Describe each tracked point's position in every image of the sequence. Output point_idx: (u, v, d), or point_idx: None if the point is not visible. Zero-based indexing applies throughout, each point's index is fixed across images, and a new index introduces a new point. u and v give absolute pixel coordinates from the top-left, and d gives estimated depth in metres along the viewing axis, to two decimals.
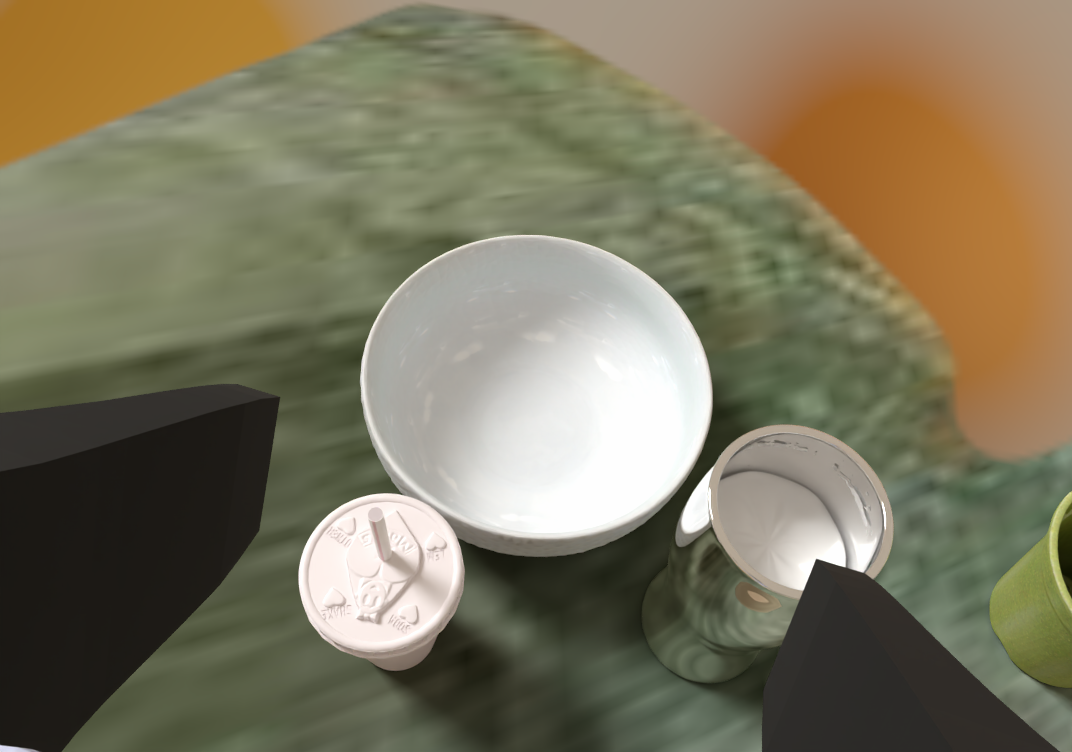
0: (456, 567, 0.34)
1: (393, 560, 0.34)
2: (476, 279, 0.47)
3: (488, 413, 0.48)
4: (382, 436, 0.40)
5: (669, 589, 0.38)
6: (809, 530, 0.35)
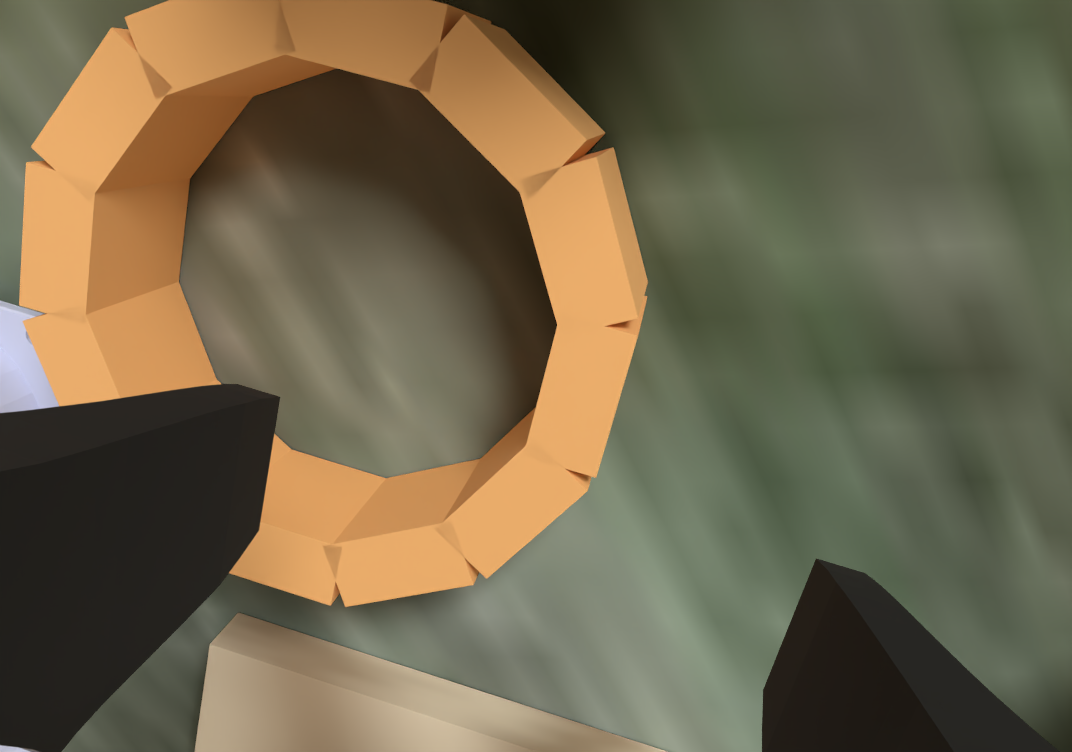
0: None
1: None
2: None
3: None
4: None
5: None
6: None
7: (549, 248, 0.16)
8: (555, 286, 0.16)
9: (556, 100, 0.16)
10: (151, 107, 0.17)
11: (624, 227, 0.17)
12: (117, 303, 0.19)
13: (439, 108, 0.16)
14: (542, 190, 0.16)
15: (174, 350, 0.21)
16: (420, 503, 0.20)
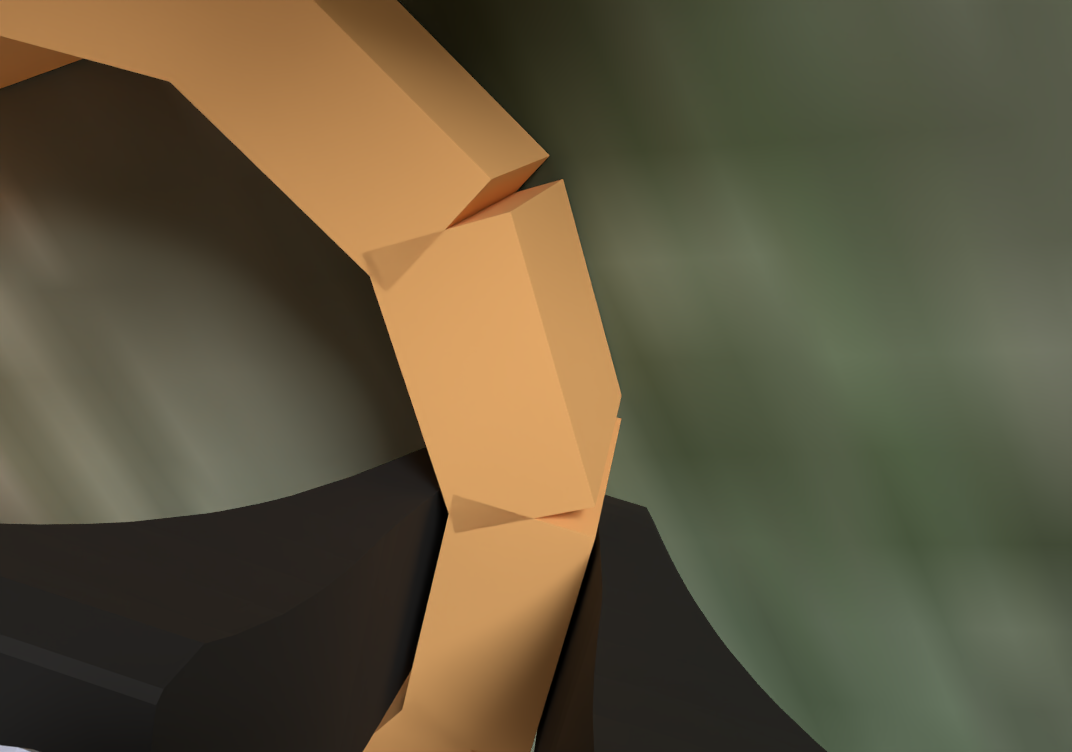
0: None
1: None
2: None
3: None
4: None
5: None
6: None
7: (429, 378, 0.09)
8: (442, 446, 0.09)
9: (444, 102, 0.09)
10: None
11: (575, 324, 0.10)
12: None
13: (212, 117, 0.08)
14: (411, 273, 0.08)
15: None
16: None
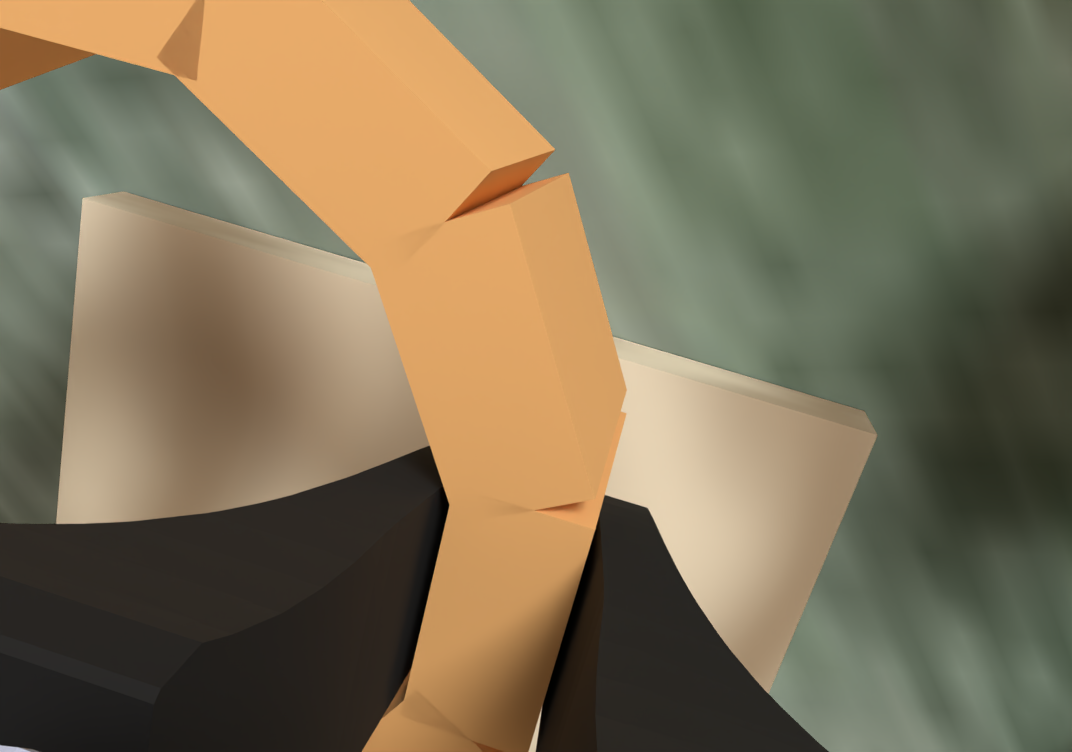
0: None
1: None
2: None
3: None
4: None
5: None
6: None
7: (429, 370, 0.09)
8: (443, 438, 0.09)
9: (446, 95, 0.09)
10: None
11: (578, 318, 0.10)
12: None
13: (215, 110, 0.08)
14: (412, 265, 0.08)
15: None
16: None
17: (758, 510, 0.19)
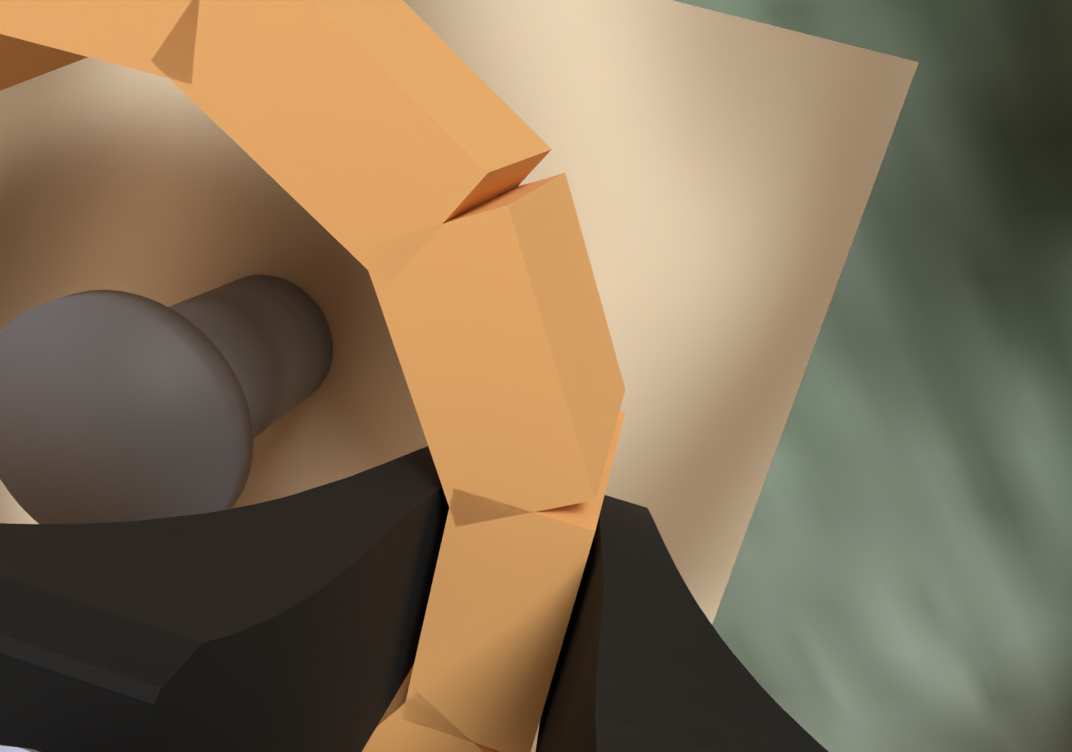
0: None
1: None
2: None
3: None
4: None
5: None
6: None
7: (428, 372, 0.09)
8: (442, 440, 0.09)
9: (442, 96, 0.09)
10: None
11: (576, 318, 0.10)
12: None
13: (211, 113, 0.08)
14: (409, 267, 0.08)
15: None
16: None
17: (750, 194, 0.14)
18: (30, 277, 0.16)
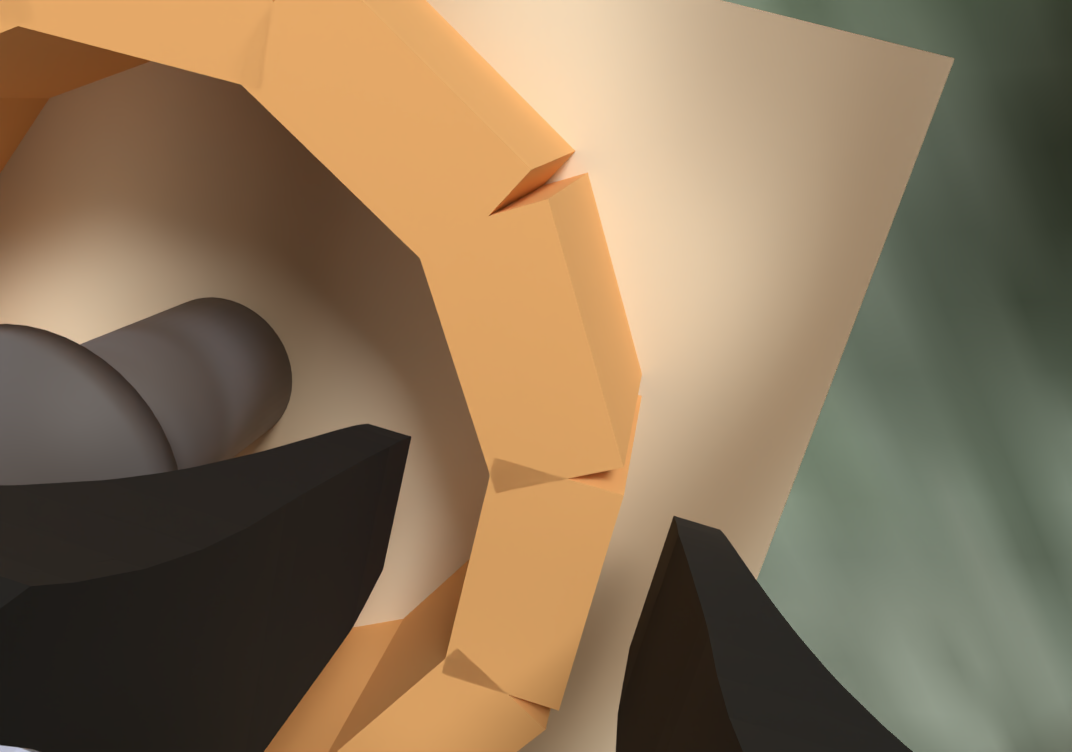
0: None
1: None
2: None
3: None
4: None
5: None
6: None
7: (472, 351, 0.10)
8: (484, 413, 0.10)
9: (484, 101, 0.10)
10: None
11: (602, 305, 0.11)
12: None
13: (278, 116, 0.09)
14: (457, 255, 0.09)
15: None
16: (301, 708, 0.13)
17: (759, 209, 0.12)
18: None
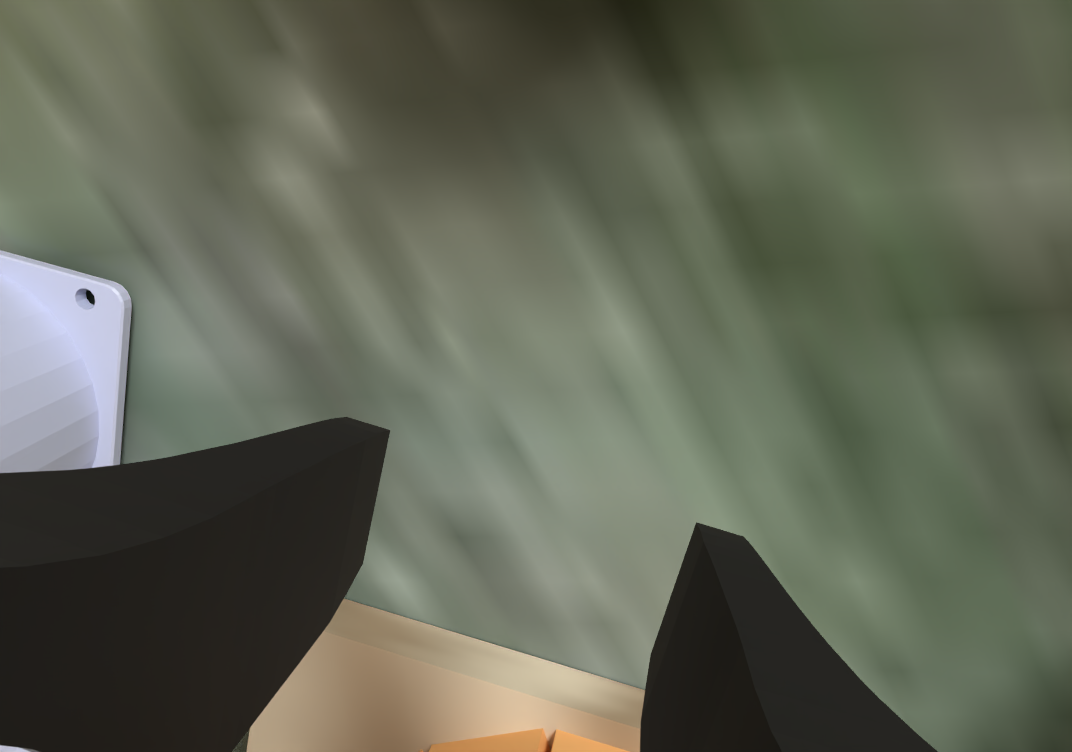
0: None
1: None
2: None
3: None
4: None
5: None
6: None
7: None
8: None
9: None
10: None
11: None
12: None
13: None
14: None
15: None
16: None
17: None
18: None
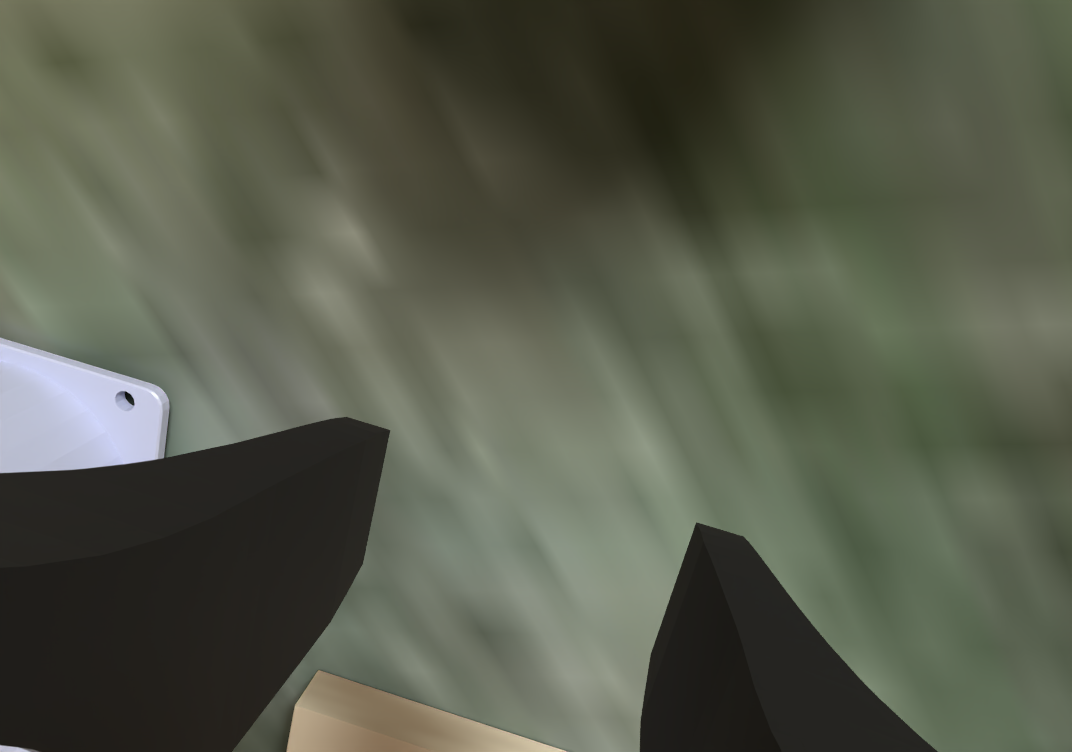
0: None
1: None
2: None
3: None
4: None
5: None
6: None
7: None
8: None
9: None
10: None
11: None
12: None
13: None
14: None
15: None
16: None
17: None
18: None
